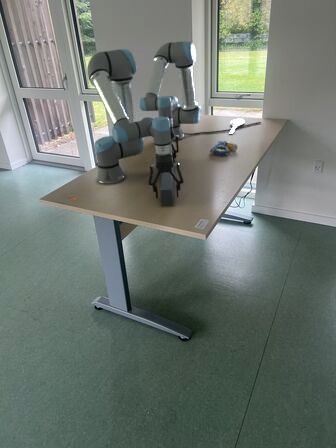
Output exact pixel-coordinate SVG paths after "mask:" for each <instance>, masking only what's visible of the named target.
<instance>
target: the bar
mask: <svg viewBox="0 0 336 448" xmlns="http://www.w3.org/2000/svg"><path fill="white" fill-rule="evenodd" d="M171 149H172V146H171ZM171 153H172V161H173V153H174V152H173V149H172V151H171ZM174 169H175V166H173V167H172V170H173V172H175V171H174ZM160 178H161V179H160V190H159V191H160V200H161V201H160V202H161V207H171V206H174V178H173V177H172V175H171V174H170V173H169V172H168V173H166V172H164V173H162V172H161V177H160Z"/></svg>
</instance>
